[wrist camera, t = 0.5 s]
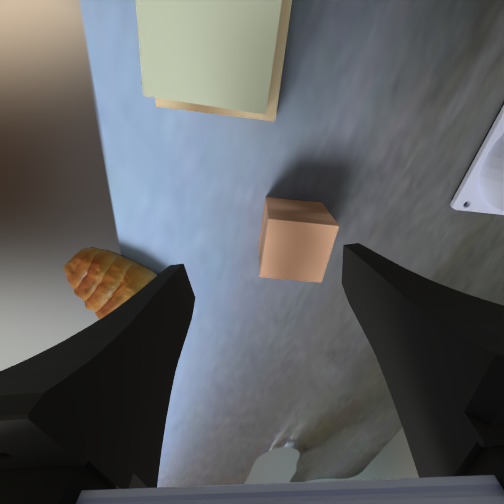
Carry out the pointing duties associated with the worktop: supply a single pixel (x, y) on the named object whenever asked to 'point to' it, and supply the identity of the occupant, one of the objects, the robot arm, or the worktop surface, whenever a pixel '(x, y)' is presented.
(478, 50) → the worktop surface
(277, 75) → the oak slab
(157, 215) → the worktop surface
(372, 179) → the worktop surface
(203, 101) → the sage slab
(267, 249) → the terracotta cube
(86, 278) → the pastry
